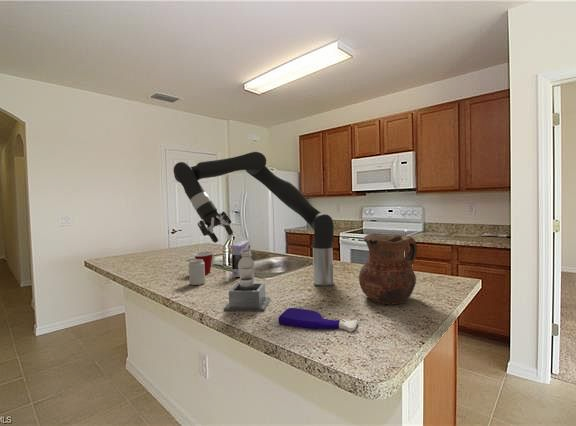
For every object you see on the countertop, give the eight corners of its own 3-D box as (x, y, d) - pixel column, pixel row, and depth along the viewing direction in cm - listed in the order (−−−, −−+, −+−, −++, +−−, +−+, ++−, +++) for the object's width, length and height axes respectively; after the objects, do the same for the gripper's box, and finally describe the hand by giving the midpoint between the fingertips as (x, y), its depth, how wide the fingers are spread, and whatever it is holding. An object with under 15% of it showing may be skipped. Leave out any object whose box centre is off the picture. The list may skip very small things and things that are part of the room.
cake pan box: (239, 278, 158) (238, 245, 157) (230, 278, 159) (229, 245, 158) (251, 270, 176) (250, 240, 176) (243, 270, 177) (242, 240, 177)
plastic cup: (190, 274, 169) (189, 253, 169) (204, 270, 179) (203, 250, 178) (204, 276, 164) (203, 254, 163) (218, 272, 173) (217, 251, 172)
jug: (386, 312, 105) (385, 241, 104) (347, 296, 124) (346, 235, 123) (429, 301, 116) (428, 236, 114) (387, 287, 134) (386, 231, 133)
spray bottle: (276, 317, 97) (353, 328, 88) (288, 305, 107) (359, 315, 98) (276, 326, 97) (353, 338, 88) (289, 314, 108) (359, 324, 98)
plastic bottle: (258, 300, 119) (257, 249, 118) (251, 306, 113) (249, 252, 112) (244, 298, 121) (242, 249, 121) (236, 304, 115) (234, 252, 114)
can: (208, 282, 152) (207, 258, 151) (198, 286, 145) (197, 261, 144) (196, 281, 155) (195, 258, 154) (186, 285, 148) (185, 261, 147)
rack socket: (270, 299, 123) (269, 282, 122) (263, 311, 110) (263, 292, 109) (234, 299, 124) (233, 282, 124) (224, 310, 112) (223, 292, 111)
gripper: (194, 205, 118) (216, 240, 117) (220, 196, 129) (240, 228, 128) (185, 214, 123) (207, 248, 121) (211, 205, 134) (231, 235, 133)
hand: (224, 238), depth 125 cm, fingers open, 8 cm apart
